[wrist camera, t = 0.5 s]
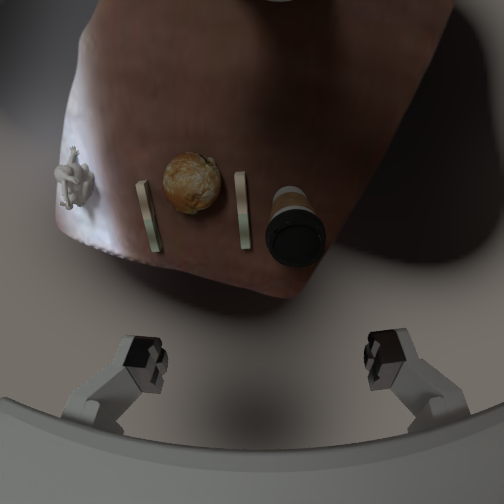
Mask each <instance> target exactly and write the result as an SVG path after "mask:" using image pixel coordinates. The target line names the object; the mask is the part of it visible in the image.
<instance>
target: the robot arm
mask: <svg viewBox="0 0 504 504" xmlns="http://www.w3.org/2000/svg"><path fill="white" fill-rule="evenodd" d="M267 1H275V2H283V1H291V0H267ZM368 342H369V343H368V344H367V345H366V346H365V349H364V364H365V368H366V369H367V370H368V371H369V375H368V381H369V385H370V390H371V391H373V390H382V389H388V388H391V389H390V390H391V391H392V392H393V393H394V394H395V395H396V396H397V397H398V398H399V399H400V400H401V402H402V403H403V404H404V405H405V406H406V407H407V408H408V409H409V410H410V411H411V412H412V413H413V415H414V416H415V417H416V418H415V420H414V421H413V422H412V424H411V425H410V426H409V427H408V433H407V434H402V435H398V436H393V437H388V438H383V439H377V440H372V441H366V442H359V443H352V444H345V445H336V446H327V447H316V448H301V449H275V450H250V449H249V450H247V449H223V448H209V447H197V446H188V445H179V444H171V443H165V442H158V441H152V440H146V439H140V438H135V437H130V436H126V435H123V434H124V430H123V428H122V427H121V426H120V425H119V424H118V423H117V422H116V420H117V419H118V418H119V417H120V416H121V415H122V414H123V413H124V412H125V411H126V410H127V409H128V408H129V407H130V405H131V404H132V403H133V402H134V401H135V400H136V399H137V398H138V397H139V396H140V395H141V394H142V392H145V393H156V394H160V393H161V390H162V386H163V382H164V380H163V378H162V375H163V374H165V373H166V371H167V367H168V356H167V353H166V351H165V350H164V349H163V348H162V347H161V346H162V341H161V339H160V338H157V337H145V336H132V335H125V336H124V337H123V338H122V340H121V343H120V345H119V347H118V350H117V352H116V354H115V357H114V359H113V362H112V364H111V365H107V366H106V367H104V368H103V369H102V370H101V371H99V372H98V373H97V374H96V375H94V376H93V377H92V378H90V379H89V380H88V381H87V382H85V383H84V384H83V385H81V386H80V387H79V388H78V389H76V390H75V391H74V392H73V393H71V394H70V396H69V399H68V401H67V403H66V406H65V408H64V411H63V413H62V416H61V418H59V417H56V416H53V415H50V414H47V413H45V412H42V411H39V410H37V409H34V408H31V407H29V406H26V405H24V404H21V403H19V402H17V401H15V400H12V399H10V398H6V397H2V398H0V504H504V402H503V403H500V404H498V405H496V406H493V407H491V408H488V409H486V410H483V411H480V412H478V413H475V414H472V415H471V414H470V411H469V408H468V405H467V403H466V400H465V397H464V394H463V392H462V389H460V388H459V387H458V386H457V385H455V384H454V383H453V382H452V381H450V380H449V379H448V378H446V377H445V376H444V375H443V374H441V373H440V372H439V371H438V370H436V369H435V368H434V367H433V366H431V365H430V364H429V363H427V362H426V361H425V360H423V359H419V357H418V354H417V352H416V349H415V347H414V345H413V342H412V340H411V337H410V335H409V332H408V330H407V329H406V328H401V329H394V330H393V329H391V330H383V331H376V332H370V333H369V335H368Z"/></svg>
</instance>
